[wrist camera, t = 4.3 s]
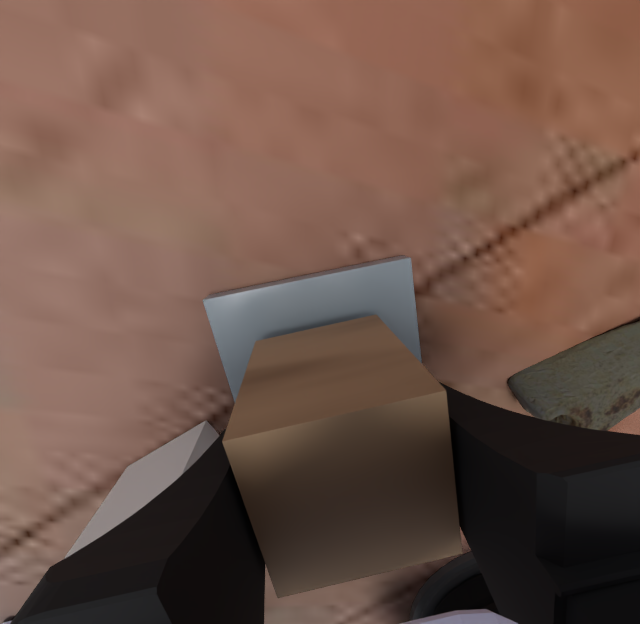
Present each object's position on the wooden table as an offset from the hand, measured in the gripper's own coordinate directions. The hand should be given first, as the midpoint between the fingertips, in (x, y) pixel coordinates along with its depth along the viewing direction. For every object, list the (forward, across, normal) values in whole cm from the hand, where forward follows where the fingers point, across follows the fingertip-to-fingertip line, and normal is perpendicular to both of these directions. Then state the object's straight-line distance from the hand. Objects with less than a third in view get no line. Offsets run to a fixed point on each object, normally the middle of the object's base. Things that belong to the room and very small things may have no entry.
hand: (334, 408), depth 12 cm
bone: (+4, -16, +3) cm, 17 cm away
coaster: (+4, 0, 0) cm, 4 cm away
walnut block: (+2, 0, 0) cm, 2 cm away
